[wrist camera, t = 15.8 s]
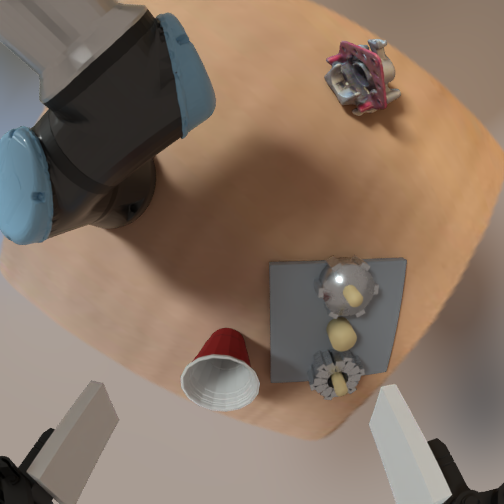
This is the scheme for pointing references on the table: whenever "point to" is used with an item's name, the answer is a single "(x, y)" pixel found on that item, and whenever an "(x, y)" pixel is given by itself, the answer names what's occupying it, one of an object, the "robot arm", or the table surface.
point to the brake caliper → (362, 76)
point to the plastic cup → (221, 374)
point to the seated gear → (344, 285)
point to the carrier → (331, 320)
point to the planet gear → (334, 371)
